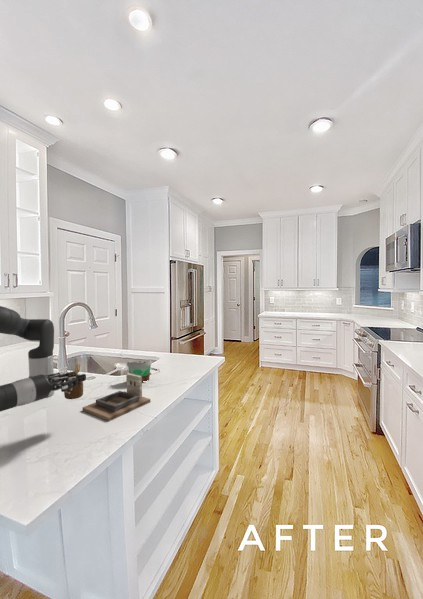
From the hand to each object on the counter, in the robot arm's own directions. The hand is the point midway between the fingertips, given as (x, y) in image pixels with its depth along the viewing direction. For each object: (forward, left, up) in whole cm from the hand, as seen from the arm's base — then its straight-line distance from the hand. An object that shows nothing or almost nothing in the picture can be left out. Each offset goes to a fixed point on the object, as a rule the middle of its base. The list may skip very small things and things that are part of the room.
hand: (80, 375), depth 103 cm
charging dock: (+13, +8, -16) cm, 22 cm away
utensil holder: (-2, -1, -7) cm, 7 cm away
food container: (+28, +33, -17) cm, 46 cm away
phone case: (+36, +50, -17) cm, 63 cm away
